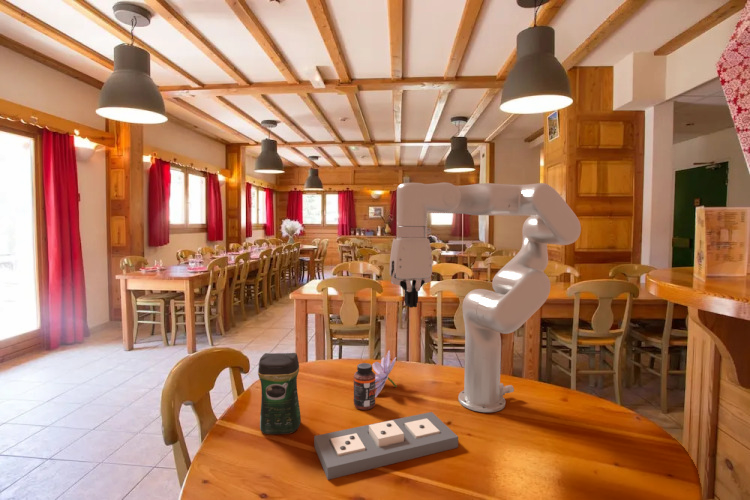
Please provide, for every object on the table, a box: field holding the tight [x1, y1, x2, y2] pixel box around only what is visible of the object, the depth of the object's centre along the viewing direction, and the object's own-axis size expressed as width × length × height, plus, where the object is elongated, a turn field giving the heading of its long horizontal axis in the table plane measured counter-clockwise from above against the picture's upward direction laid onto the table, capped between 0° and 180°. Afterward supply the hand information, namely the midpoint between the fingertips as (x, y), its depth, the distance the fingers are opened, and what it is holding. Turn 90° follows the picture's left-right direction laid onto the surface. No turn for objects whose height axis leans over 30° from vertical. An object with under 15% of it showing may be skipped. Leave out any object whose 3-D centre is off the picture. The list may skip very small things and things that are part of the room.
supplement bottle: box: [353, 362, 376, 411], centre depth 107 cm, size 6×6×11 cm
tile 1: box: [405, 418, 440, 439], centre depth 92 cm, size 6×6×3 cm
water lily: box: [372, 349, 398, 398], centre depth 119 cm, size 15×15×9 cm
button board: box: [313, 411, 459, 481], centre depth 88 cm, size 30×12×2 cm, turn 111°
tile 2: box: [368, 419, 404, 447], centre depth 88 cm, size 6×6×3 cm
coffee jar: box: [257, 352, 302, 435], centre depth 96 cm, size 10×8×19 cm
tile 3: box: [331, 433, 365, 457], centre depth 85 cm, size 6×6×3 cm
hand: (411, 306), depth 99 cm, fingers closed
